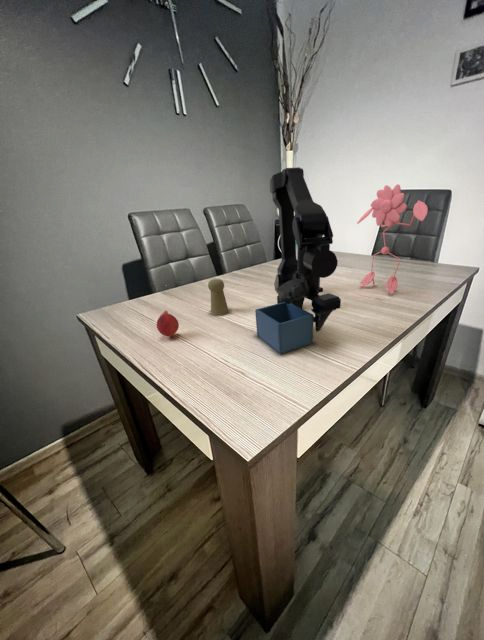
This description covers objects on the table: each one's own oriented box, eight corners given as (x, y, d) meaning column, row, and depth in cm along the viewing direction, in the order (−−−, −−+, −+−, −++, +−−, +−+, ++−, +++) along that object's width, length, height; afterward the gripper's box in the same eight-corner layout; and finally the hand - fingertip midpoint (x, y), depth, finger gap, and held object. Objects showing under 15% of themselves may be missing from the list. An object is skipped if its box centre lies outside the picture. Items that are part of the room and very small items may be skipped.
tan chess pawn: (225, 315, 91) (221, 282, 85) (208, 314, 92) (203, 282, 87) (230, 308, 96) (227, 277, 90) (214, 308, 97) (210, 277, 92)
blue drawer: (296, 324, 81) (296, 298, 77) (322, 339, 72) (323, 311, 68) (257, 336, 76) (255, 309, 72) (280, 354, 67) (278, 325, 63)
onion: (169, 343, 75) (162, 316, 71) (155, 338, 78) (148, 312, 74) (185, 334, 79) (179, 308, 75) (171, 331, 82) (165, 305, 78)
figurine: (358, 281, 117) (370, 186, 100) (417, 295, 98) (444, 181, 80) (333, 288, 110) (341, 188, 92) (390, 305, 91) (414, 182, 73)
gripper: (262, 266, 72) (265, 321, 79) (305, 281, 57) (303, 346, 65) (297, 260, 76) (296, 312, 84) (345, 272, 62) (339, 334, 69)
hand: (307, 325), depth 75 cm, fingers open, 9 cm apart
